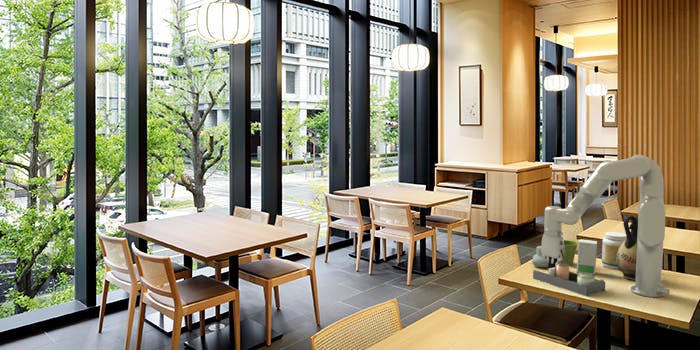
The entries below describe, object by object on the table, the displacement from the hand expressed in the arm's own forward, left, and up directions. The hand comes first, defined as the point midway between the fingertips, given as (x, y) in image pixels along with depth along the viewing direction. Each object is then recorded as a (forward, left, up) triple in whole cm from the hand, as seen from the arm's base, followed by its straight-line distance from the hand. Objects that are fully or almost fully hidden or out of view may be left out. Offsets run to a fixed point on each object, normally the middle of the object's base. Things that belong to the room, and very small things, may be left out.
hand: (551, 270), depth 235 cm
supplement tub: (-4, -43, -4) cm, 44 cm away
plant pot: (+13, -27, -4) cm, 31 cm away
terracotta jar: (-6, 0, -4) cm, 7 cm away
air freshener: (+16, -13, -4) cm, 21 cm away
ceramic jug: (-19, -33, -4) cm, 39 cm away
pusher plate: (-1, 0, -4) cm, 4 cm away
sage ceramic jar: (-18, 0, -4) cm, 18 cm away
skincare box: (-2, -23, -4) cm, 24 cm away
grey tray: (-9, 0, -4) cm, 10 cm away
